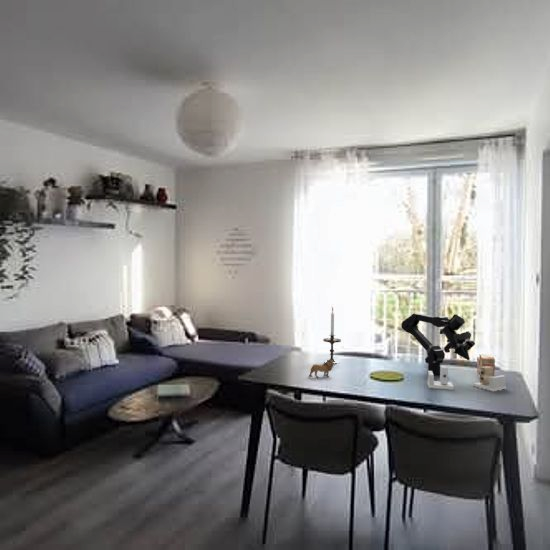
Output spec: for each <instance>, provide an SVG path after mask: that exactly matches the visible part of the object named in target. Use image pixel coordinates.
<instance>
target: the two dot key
mask: <svg viewBox="0 0 550 550" xmlns="http://www.w3.org/2000/svg"><path fill="white" fill-rule="evenodd" d="M489 377H493V367H490V366H485V367H480V377H479V382H480V383H482V384H489Z"/></svg>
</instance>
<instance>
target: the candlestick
mask: <svg viewBox="0 0 550 550" xmlns="http://www.w3.org/2000/svg"><path fill="white" fill-rule="evenodd" d="M329 336H330V337H329V338H328V337H327V338H323V339H322V340H323V342H325V343H329V344H330V349H329V356H330V358H329V359H330V360H332V361H333V362H335V361H334V360H335V359H334V356H335V355H334V352H335V350H334V344H335V343H341V342H342V339H341V338H335V336H336V335H335V313H334V307H333V306H332V307H331V313H330V334H329Z"/></svg>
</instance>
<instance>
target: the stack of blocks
mask: <svg viewBox="0 0 550 550" xmlns="http://www.w3.org/2000/svg"><path fill="white" fill-rule="evenodd" d="M476 363H477V365H476V369H477V372H478V373H477V372H476V373H477V375H478V374H479V375H480V367H485V366H490V367H493V377H494V376H495V367H496V364H495V363H496V359H495V357H494V356H493V355H491V354H482V353H481V354H479V356H477V357H476ZM479 375H478V376H479Z"/></svg>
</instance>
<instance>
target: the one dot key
mask: <svg viewBox="0 0 550 550" xmlns="http://www.w3.org/2000/svg"><path fill="white" fill-rule="evenodd" d="M439 381H440V382H441V384H448V382H449V367H448V366H447V365H441V364H440V375H439Z"/></svg>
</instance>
